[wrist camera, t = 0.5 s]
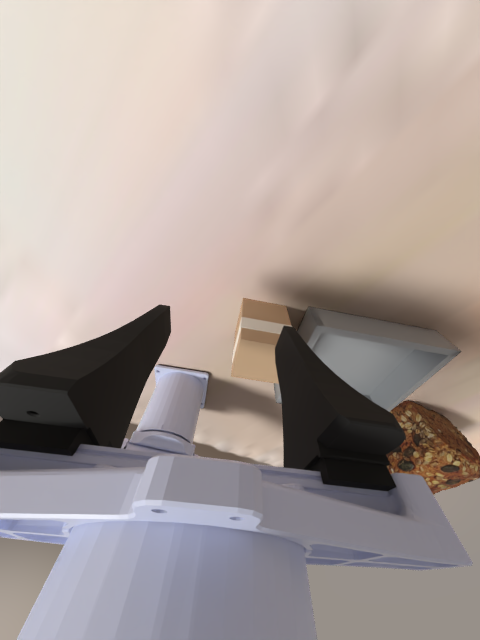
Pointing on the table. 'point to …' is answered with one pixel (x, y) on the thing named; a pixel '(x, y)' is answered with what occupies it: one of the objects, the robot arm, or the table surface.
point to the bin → (375, 353)
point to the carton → (258, 340)
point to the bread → (432, 449)
